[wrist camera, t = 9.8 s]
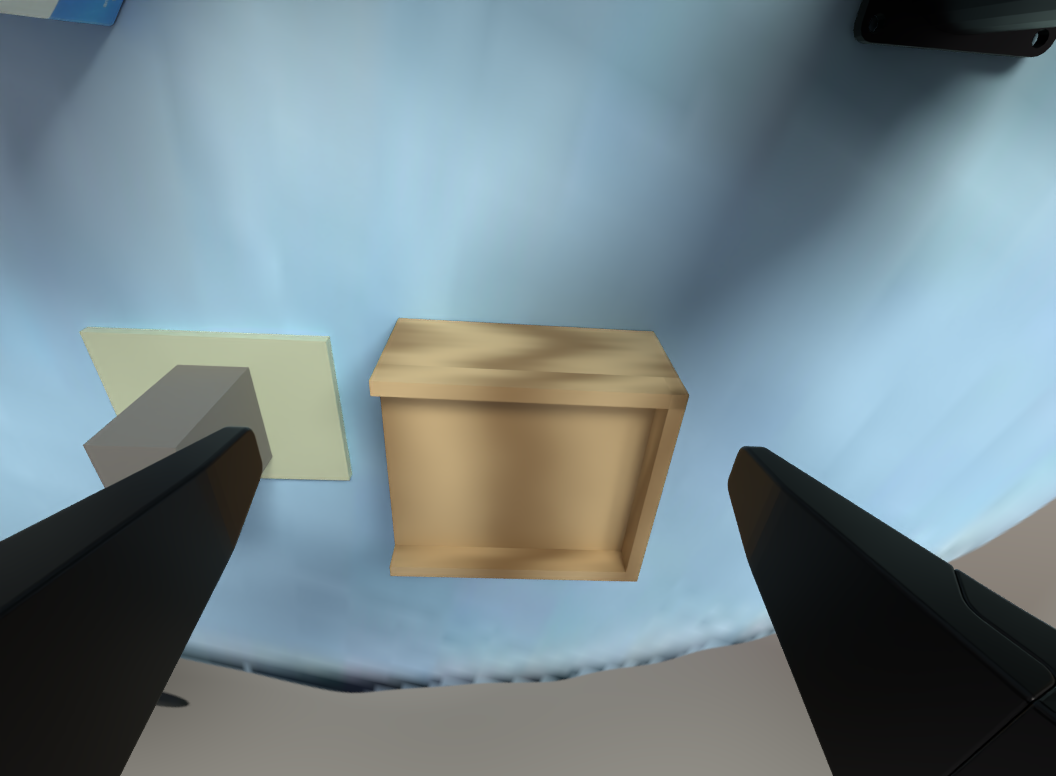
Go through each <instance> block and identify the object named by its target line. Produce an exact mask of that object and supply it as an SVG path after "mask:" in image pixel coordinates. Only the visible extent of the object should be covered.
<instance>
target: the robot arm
mask: <svg viewBox="0 0 1056 776" xmlns="http://www.w3.org/2000/svg"><path fill="white" fill-rule="evenodd" d="M874 16H877V19H878V24H877V27H876V28H875V30H874V31H873V32H870V30H869V23H870V21H871V19H872V17H874ZM853 31H854V36H855V38H856V39H857V41H858V42H861V43H865V44H876V45H887V46H898V47H909V48H921V49H932V50H943V51H954V52H965V53H976V54H988V55H999V56H1010V57H1035V56H1039V55H1041V54H1042V53H1044V52H1045V51H1046V50H1048V49H1049V48H1050V47H1051V45H1052V44H1053V42H1054V41H1055V39H1056V0H862V3H861V6H860V9H859V12H858V15H857V18H856V21H855V24H854V30H853ZM1037 32H1038V38H1037V41H1036V42H1035V44H1034V45H1033V46H1032V40H1033V37H1034V36H1035V34H1036V33H1037ZM262 470H263V463H262V459H261V455H260V451H259V448H258V444H257V440H256V436H255V433H254V431H253V430H252V429H251V428H249V427H237V426H227V427H224V428H222V429H220V430H218V431H216V432H214V433H212V434H210V435H208V436H206V437H204V438H202V439H200V440H198V441H196V442H194V443H192V444H190V445H189V446H187V447H185V448H183V449H181V450H179V451H177V452H175V453H173V454H171V455H169V456H167V457H165V458H163V459H161V460H159V461H157V462H155V463H153V464H151V465H149V466H147V467H145V468H143V469H142V470H140V471H138V472H136V473H134V474H132V475H130V476H128V477H126V478H124V479H122V480H120V481H118V482H116V483H114V484H112V485H110V486H108V487H106V488H104V489H102V490H100V491H98V492H97V493H95V494H93V495H91V496H89V497H87V498H85V499H83V500H81V501H79V502H77V503H75V504H73V505H71V506H69V507H67V508H65V509H63V510H61V511H59V512H57V513H55V514H53V515H51V516H50V517H48V518H46V519H44V520H42V521H40V522H38V523H36V524H34V525H32V526H30V527H28V528H26V529H24V530H22V531H20V532H18V533H16V534H14V535H12V536H10V537H8V538H6V539H5V540H3V541H1V542H0V776H120V775H121V773H122V771H123V769H124V767H125V765H126V763H127V761H128V759H129V757H130V755H131V753H132V751H133V749H134V747H135V745H136V743H137V741H138V739H139V737H140V735H141V733H142V731H143V729H144V728H145V725H146V723H147V722H148V720H149V718H150V716H151V714H152V712H153V710H154V708H155V706H156V704H157V702H158V700H159V698H160V696H161V694H162V692H163V690H164V688H165V686H166V684H167V682H168V680H169V678H170V676H171V674H172V672H173V670H174V668H175V666H176V664H177V662H178V660H179V658H180V656H181V654H182V652H183V650H184V648H185V646H186V644H187V642H188V640H189V638H190V636H191V634H192V632H193V630H194V628H195V626H196V624H197V622H198V620H199V618H200V617H201V615H202V613H203V611H204V609H205V607H206V605H207V603H208V601H209V599H210V597H211V595H212V593H213V591H214V589H215V587H216V585H217V583H218V581H219V579H220V577H221V575H222V573H223V571H224V569H225V567H226V565H227V563H228V561H229V559H230V557H231V555H232V552H233V550H234V548H235V545H236V543H237V541H238V538H239V535H240V533H241V530H242V527H243V525H244V522H245V519H246V516H247V514H248V511H249V508H250V505H251V503H252V500H253V497H254V495H255V492H256V489H257V486H258V484H259V481H260V478H261V475H262ZM728 491H729V495H730V499H731V503H732V506H733V510H734V514H735V517H736V521H737V525H738V528H739V532H740V535H741V539H742V543H743V546H744V550H745V553H746V557H747V560H748V563H749V566H750V568H751V571H752V574H753V576H754V579H755V581H756V584H757V586H758V589H759V591H760V594H761V596H762V599H763V601H764V604H765V606H766V609H767V611H768V614H769V616H770V619H771V621H772V624H773V627H774V629H775V632H776V634H777V637H778V639H779V642H780V644H781V647H782V649H783V651H784V654H785V657H786V659H787V661H788V664H789V667H790V669H791V672H792V674H793V677H794V679H795V682H796V684H797V687H798V689H799V692H800V694H801V697H802V699H803V702H804V704H805V707H806V709H807V712H808V714H809V716H810V719H811V722H812V724H813V727H814V729H815V732H816V734H817V737H818V739H819V742H820V744H821V747H822V749H823V751H824V754H825V757H826V760H827V762H828V764H829V767H830V770H831V772H832V774H833V776H1056V629H1055V628H1053V627H1052V626H1050V625H1048V624H1047V623H1045V622H1043V621H1041V620H1039V619H1038V618H1036V617H1034V616H1033V615H1031V614H1029V613H1028V612H1026V611H1024V610H1023V609H1021V608H1019V607H1018V606H1016V605H1014V604H1013V603H1011V602H1010V601H1008V600H1006V599H1005V598H1003V597H1001V596H1000V595H998V594H996V593H995V592H993V591H991V590H990V589H988V588H987V587H985V586H983V585H982V584H980V583H979V582H977V581H976V580H974V579H972V578H971V577H969V576H968V575H966V574H965V573H963V572H961V571H960V570H958V569H955V570H954V568H953V567H952V565H950V564H949V563H947V562H945V561H944V560H942V559H941V558H939V557H938V556H936V555H934V554H933V553H931V552H930V551H928V550H927V549H925V548H923V547H922V546H920V545H919V544H917V543H915V542H914V541H912V540H911V539H909V538H908V537H906V536H904V535H903V534H901V533H900V532H898V531H896V530H895V529H893V528H892V527H890V526H889V525H887V524H885V523H884V522H882V521H881V520H879V519H877V518H876V517H874V516H873V515H871V514H870V513H868V512H866V511H865V510H863V509H862V508H860V507H858V506H857V505H855V504H854V503H852V502H851V501H849V500H847V499H846V498H844V497H843V496H841V495H839V494H838V493H836V492H835V491H833V490H832V489H830V488H828V487H827V486H825V485H824V484H822V483H821V482H819V481H817V480H816V479H814V478H813V477H811V476H809V475H808V474H806V473H805V472H803V471H802V470H800V469H798V468H797V467H795V466H794V465H792V464H790V463H789V462H787V461H786V460H784V459H783V458H781V457H779V456H778V455H776V454H775V453H773V452H772V451H770V450H768V449H767V448H764V447H754V446H744V447H742V448H741V449H740V450H739V452H738V454H737V457H736V459H735V462H734V465H733V468H732V470H731V473H730V476H729V479H728Z"/></svg>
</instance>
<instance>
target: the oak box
mask: <svg viewBox="0 0 1056 776" xmlns="http://www.w3.org/2000/svg"><path fill="white" fill-rule="evenodd" d="M369 387H370V396H380V399H381V409H382V419H383V429H384V439H385V449H386V459H387V469H388V479H389V489H390V499H391V509H392V519H393V529H394V539H395V547H394V551H393V555H392V559H391V563H390V575H391V576H416V577H460V578H504V579H548V580H593V581H637V579H638V576H639V572H640V569H641V565H642V561H643V558H644V554H645V551H646V547H647V544H648V540H649V537H650V533H651V529H652V526H653V522H654V519H655V515H656V512H657V508H658V505H659V501H660V497H661V494H662V490H663V487H664V483H665V480H666V476H667V473H668V469H669V465H670V462H671V458H672V455H673V451H674V448H675V444H676V441H677V437H678V433H679V430H680V426H681V423H682V419H683V416H684V412H685V409H686V405H687V401H688V398H689V394H688V392H687V391H686V389H685V387H684V385H683V383H682V382H681V380H680V378H679V376H678V374H677V373H676V371H675V369H674V367H673V366H672V364H671V362H670V360H669V358H668V357H667V355H666V353H665V351H664V349H663V348H662V346H661V344H660V342H659V340H658V339H657V337H656V335H655V333H654V332H653V331H634V330H615V329H596V328H578V327H559V326H540V325H521V324H502V323H483V322H464V321H445V320H426V319H407V318H398V320H397V323H396V325H395V327H394V329H393V331H392V333H391V335H390V337H389V339H388V342H387V344H386V346H385V348H384V350H383V352H382V354H381V356H380V358H379V361H378V363H377V365H376V367H375V369H374V371H373V373H372V375H371V377H370V380H369Z"/></svg>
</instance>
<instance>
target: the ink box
mask: <svg viewBox="0 0 1056 776" xmlns="http://www.w3.org/2000/svg"><path fill="white" fill-rule="evenodd" d="M122 2H123V0H0V13H4V14H12V15H21V16H28V17H36V18H45V19H54V20H60V21H70V22H78V23H88V24H96V25H103V26H111V25H113V23H114V22H115V19H116V17H117V14H118V12H119V9H120V7H121V5H122Z"/></svg>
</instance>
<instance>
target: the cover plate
mask: <svg viewBox="0 0 1056 776" xmlns="http://www.w3.org/2000/svg"><path fill="white" fill-rule="evenodd" d="M80 335H81V337H82V339H83V341H84V343H85V346H86V348H87V350H88V352H89V355H90V357H91V359H92V361H93V363H94V366H95V368H96V370H97V372H98V375H99V377H100V379H101V381H102V383H103V386H104V388H105V390H106V392H107V395H108V397H109V399H110V401H111V404H112V406H113V408H114V410H115V412H116V415H117V417H115V418H114V419H113V420H112V421H111V422H110V423H108V424H107V425H106V426H105V427H104V428H103V429H101V430H100V431H99V432H98V433H97V434H96V435H94V436H93V437H92V438H91V439H90V440H88V441H87V442H86V443H85V444H84V445H83V446H84V448H85V450H86V452H87V454H88V456H89V458H90V460H91V462H92V464H93V466H94V468H95V470H96V472H97V474H98V476H99V478H100V480H101V482H102V483H103V485H104V487H105V488H106V487H108V486H110V485H112V484H114V483H116V482H118V481H120V480H122V479H124V478H126V477H128V476H130V475H132V474H134V473H136V472H138V471H140V470H142V469H143V468H145V467H147V466H149V465H151V464H153V463H155V462H157V461H159V460H161V459H163V458H165V457H167V456H169V455H171V454H173V453H175V452H177V451H179V450H181V449H183V448H185V447H187V446H189V445H190V444H192V443H194V442H196V441H198V440H200V439H202V438H204V437H206V436H208V435H210V434H212V433H214V432H216V431H218V430H220V429H222V428H224V427H227V426H237V427H249V428H251V429H252V430H253V431H254V433H255V436H256V440H257V444H258V448H259V451H260V455H261V459H262V463H263V470H262V475H261V478H271V479H311V480H350V478H351V475H352V470H351V464H350V458H349V452H348V446H347V439H346V433H345V427H344V421H343V415H342V409H341V403H340V397H339V391H338V385H337V379H336V373H335V367H334V360H333V354H332V348H331V342H330V336H307V335H282V334H256V333H231V332H206V331H181V330H156V329H130V328H105V327H87V328H85V329H83V330H82V331H80Z"/></svg>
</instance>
